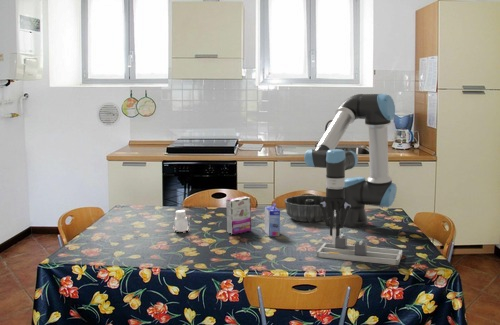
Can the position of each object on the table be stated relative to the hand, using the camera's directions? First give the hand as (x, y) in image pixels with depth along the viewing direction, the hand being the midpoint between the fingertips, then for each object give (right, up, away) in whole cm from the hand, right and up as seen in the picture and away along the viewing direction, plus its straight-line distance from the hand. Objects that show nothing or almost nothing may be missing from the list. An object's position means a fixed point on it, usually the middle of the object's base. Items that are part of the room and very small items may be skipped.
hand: (334, 243), depth 235 cm
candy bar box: (-40, 0, +35) cm, 54 cm away
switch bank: (+9, -5, -6) cm, 12 cm away
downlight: (-68, 0, +38) cm, 78 cm away
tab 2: (+9, -5, -10) cm, 14 cm away
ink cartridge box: (-25, 0, +31) cm, 40 cm away
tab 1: (+3, -3, -1) cm, 4 cm away
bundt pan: (-4, +4, +60) cm, 60 cm away
